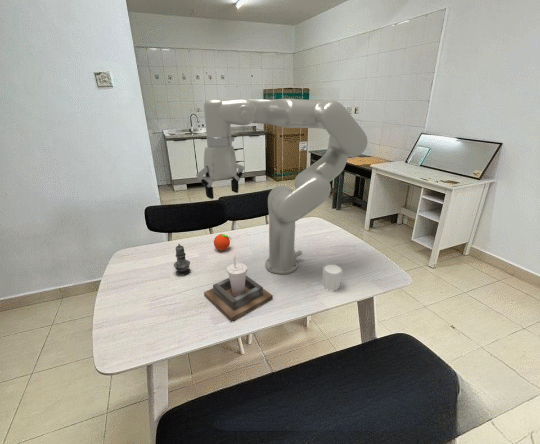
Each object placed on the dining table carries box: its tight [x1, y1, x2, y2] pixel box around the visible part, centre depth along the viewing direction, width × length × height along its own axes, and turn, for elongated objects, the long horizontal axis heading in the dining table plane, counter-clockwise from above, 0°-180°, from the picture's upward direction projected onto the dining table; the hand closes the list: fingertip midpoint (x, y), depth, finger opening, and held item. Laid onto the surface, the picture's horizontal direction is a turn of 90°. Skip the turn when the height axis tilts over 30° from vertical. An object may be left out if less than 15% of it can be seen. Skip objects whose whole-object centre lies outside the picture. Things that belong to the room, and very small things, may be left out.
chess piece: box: [173, 243, 191, 277], centre depth 106 cm, size 6×6×12 cm
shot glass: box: [322, 263, 344, 291], centre depth 99 cm, size 7×7×7 cm
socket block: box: [203, 274, 274, 323], centre depth 93 cm, size 16×16×4 cm
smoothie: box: [226, 255, 248, 297], centre depth 91 cm, size 6×6×14 cm
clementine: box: [213, 233, 233, 251], centre depth 123 cm, size 8×7×7 cm
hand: (223, 194), depth 96 cm, fingers open, 9 cm apart
